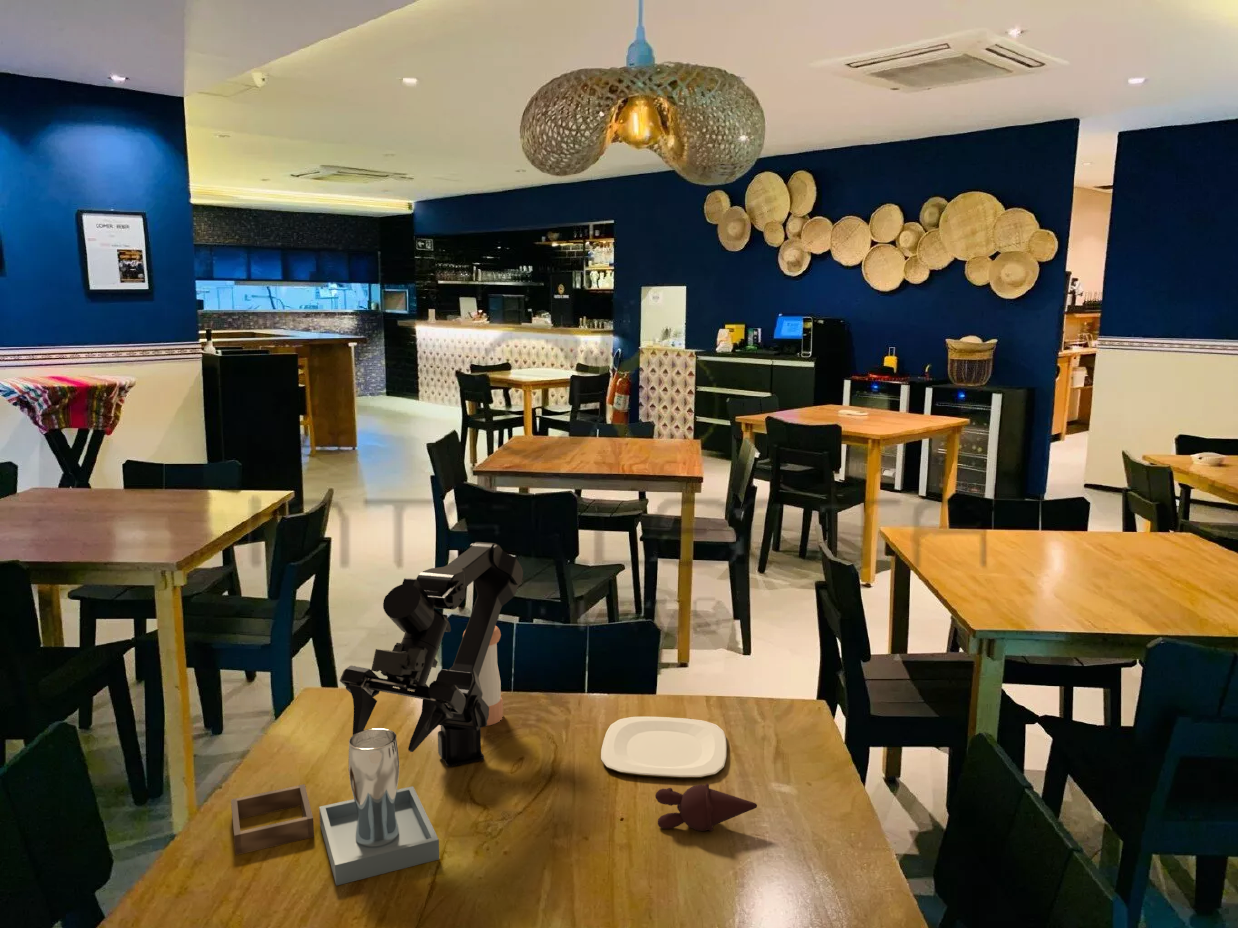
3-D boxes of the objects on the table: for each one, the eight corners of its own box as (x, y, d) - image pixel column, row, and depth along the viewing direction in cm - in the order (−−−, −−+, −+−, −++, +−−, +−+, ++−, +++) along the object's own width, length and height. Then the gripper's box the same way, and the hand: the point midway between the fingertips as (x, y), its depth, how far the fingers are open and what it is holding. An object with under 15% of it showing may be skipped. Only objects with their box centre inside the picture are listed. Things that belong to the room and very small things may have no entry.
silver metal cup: (405, 843, 128) (401, 744, 126) (354, 853, 125) (349, 753, 123) (398, 818, 134) (394, 724, 132) (350, 827, 132) (345, 731, 129)
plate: (594, 779, 149) (594, 770, 148) (610, 721, 170) (610, 713, 170) (726, 787, 146) (726, 778, 146) (726, 728, 168) (726, 719, 167)
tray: (413, 803, 140) (413, 786, 140) (439, 859, 126) (438, 839, 125) (320, 825, 134) (319, 806, 134) (336, 885, 120) (335, 865, 120)
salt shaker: (470, 729, 166) (467, 630, 163) (460, 713, 172) (457, 617, 169) (507, 721, 169) (506, 624, 166) (496, 706, 175) (494, 612, 172)
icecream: (753, 774, 137) (655, 779, 138) (756, 787, 130) (653, 792, 131) (757, 821, 136) (658, 825, 138) (760, 837, 129) (656, 841, 130)
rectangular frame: (305, 801, 141) (304, 784, 140) (314, 836, 131) (313, 817, 131) (232, 817, 136) (231, 799, 136) (235, 855, 127) (234, 835, 126)
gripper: (345, 615, 135) (301, 715, 127) (457, 634, 130) (419, 739, 122) (374, 645, 144) (336, 740, 136) (480, 663, 139) (446, 763, 131)
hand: (382, 745), depth 131 cm, fingers open, 9 cm apart
